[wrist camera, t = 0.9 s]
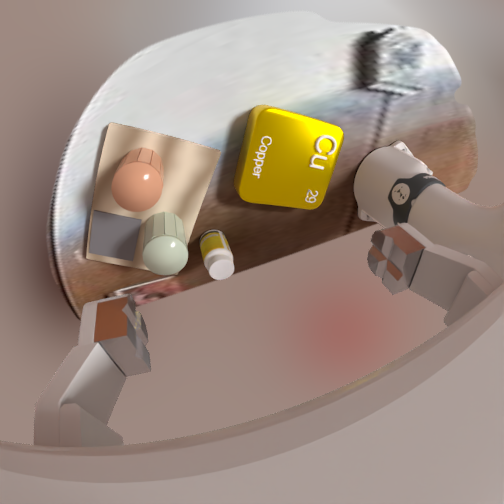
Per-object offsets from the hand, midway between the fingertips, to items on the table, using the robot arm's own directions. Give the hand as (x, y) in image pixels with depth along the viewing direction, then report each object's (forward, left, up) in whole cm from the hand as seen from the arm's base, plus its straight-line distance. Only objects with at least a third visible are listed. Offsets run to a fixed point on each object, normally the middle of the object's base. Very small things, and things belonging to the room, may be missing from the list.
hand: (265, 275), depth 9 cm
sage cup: (-2, +18, -33) cm, 38 cm away
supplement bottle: (-11, +19, -35) cm, 41 cm away
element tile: (-17, 0, -35) cm, 39 cm away
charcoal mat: (+6, +21, -33) cm, 40 cm away
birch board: (+2, +15, -35) cm, 38 cm away
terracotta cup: (+4, +9, -33) cm, 35 cm away
